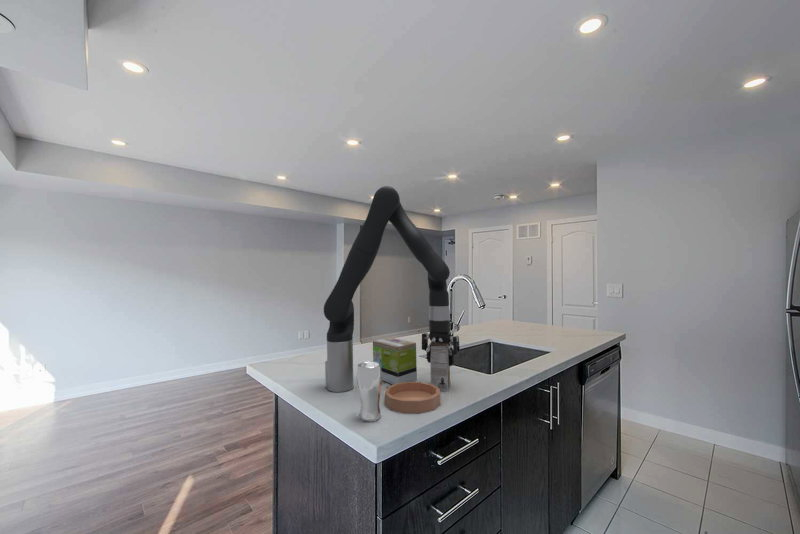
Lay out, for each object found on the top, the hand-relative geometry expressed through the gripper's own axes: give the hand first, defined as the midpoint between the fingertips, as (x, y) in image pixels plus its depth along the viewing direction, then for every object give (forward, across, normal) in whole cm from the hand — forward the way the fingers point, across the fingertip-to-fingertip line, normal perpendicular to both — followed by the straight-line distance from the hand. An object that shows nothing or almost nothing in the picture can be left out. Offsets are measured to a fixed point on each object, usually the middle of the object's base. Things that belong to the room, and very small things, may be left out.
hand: (440, 363), depth 119 cm
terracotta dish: (+8, -1, -17) cm, 19 cm away
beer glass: (+8, -5, -33) cm, 34 cm away
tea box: (+8, -19, -2) cm, 21 cm away
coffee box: (+8, 0, 0) cm, 8 cm away
